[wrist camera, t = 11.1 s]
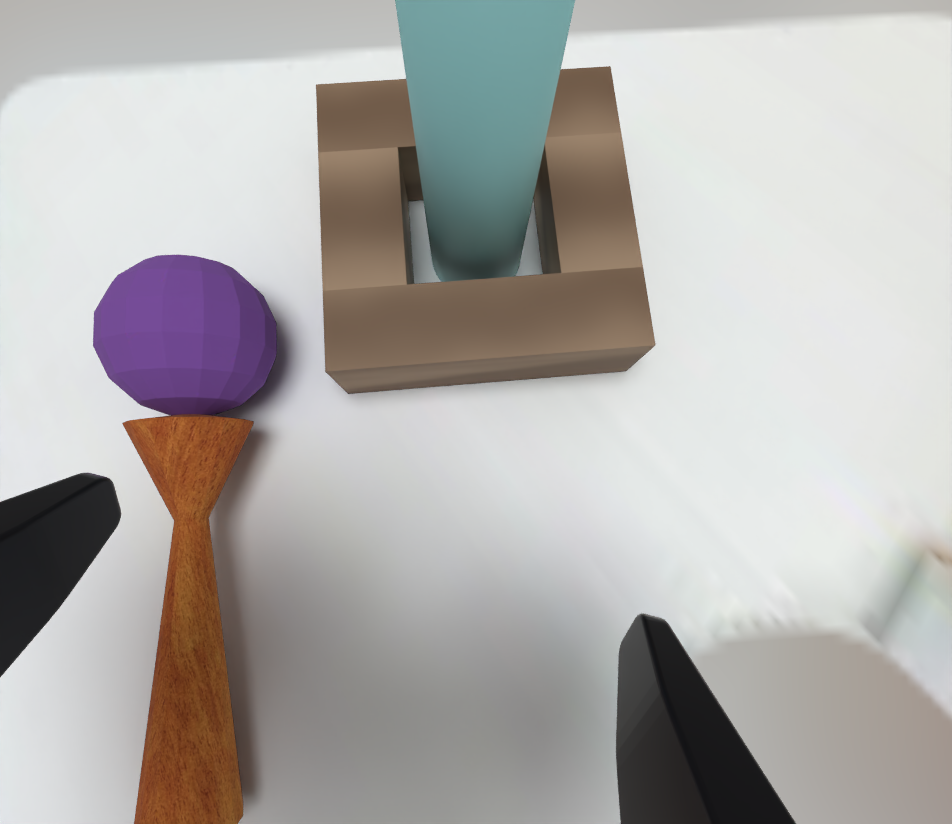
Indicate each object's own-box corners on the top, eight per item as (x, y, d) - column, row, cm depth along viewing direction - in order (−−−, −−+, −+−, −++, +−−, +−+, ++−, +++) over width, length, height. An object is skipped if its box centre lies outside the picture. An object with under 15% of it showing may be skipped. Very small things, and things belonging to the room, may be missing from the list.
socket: (626, 370, 22) (655, 345, 18) (348, 393, 22) (325, 371, 18) (590, 129, 24) (610, 66, 21) (338, 145, 24) (316, 84, 20)
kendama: (24, 891, 15) (49, 238, 17) (177, 769, 21) (181, 296, 23) (208, 908, 14) (209, 213, 16) (314, 776, 20) (304, 280, 22)
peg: (536, 272, 23) (641, -91, 9) (457, 311, 22) (443, -5, 9) (493, 201, 23) (529, -238, 10) (416, 238, 23) (340, -166, 9)
